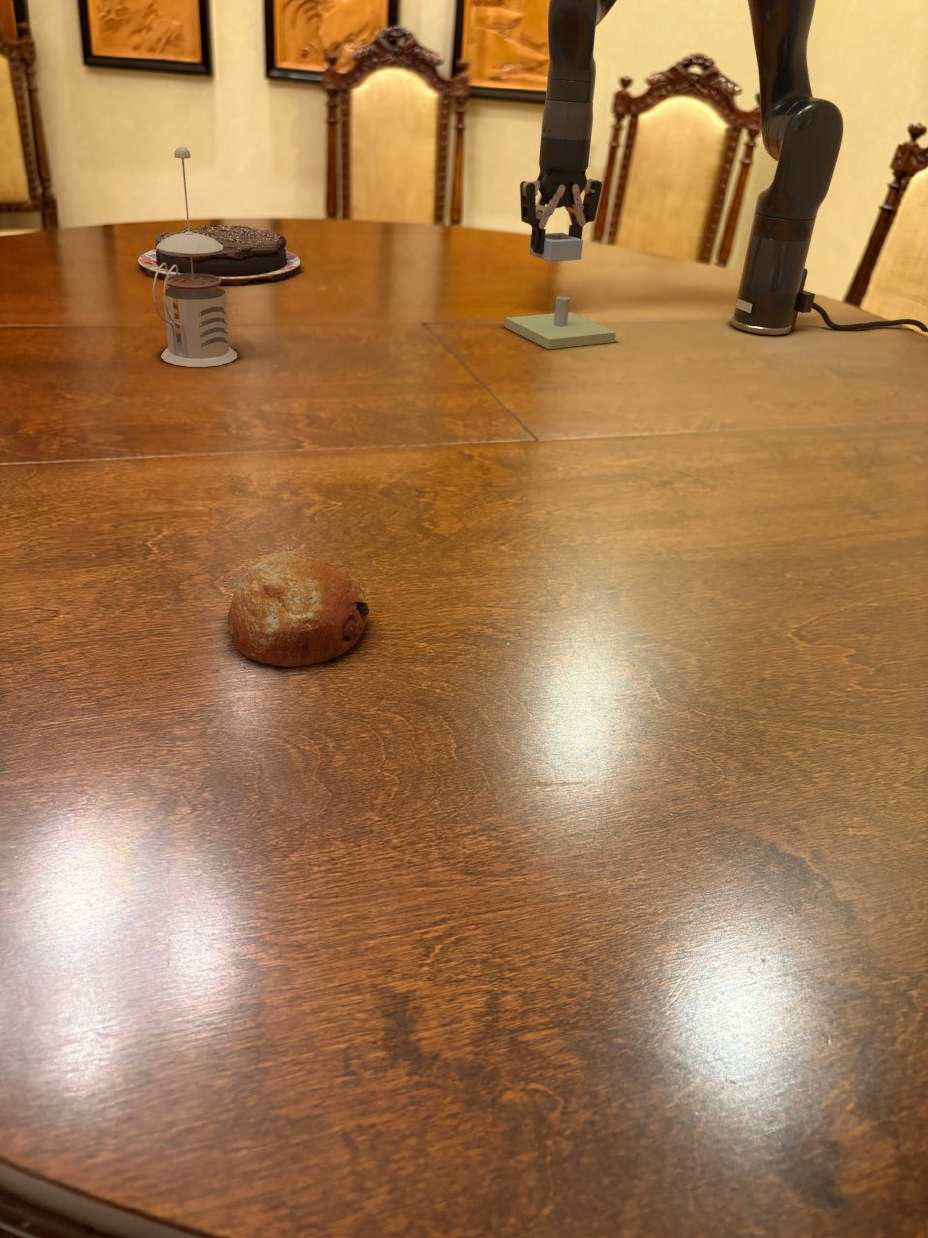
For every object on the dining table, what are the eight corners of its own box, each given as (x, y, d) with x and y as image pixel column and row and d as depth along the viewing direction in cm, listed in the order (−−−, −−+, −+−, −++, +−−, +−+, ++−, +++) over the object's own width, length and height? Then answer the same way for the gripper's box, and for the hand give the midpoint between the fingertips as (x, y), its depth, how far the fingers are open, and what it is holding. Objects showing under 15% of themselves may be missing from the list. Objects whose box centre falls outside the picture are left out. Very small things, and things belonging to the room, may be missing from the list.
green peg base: (568, 321, 154) (573, 285, 151) (614, 342, 146) (619, 304, 143) (504, 327, 149) (507, 290, 146) (548, 349, 140) (552, 310, 137)
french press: (252, 352, 130) (240, 147, 117) (197, 375, 121) (178, 155, 108) (193, 340, 134) (175, 139, 120) (135, 361, 125) (109, 146, 111)
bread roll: (263, 635, 79) (214, 556, 74) (379, 589, 77) (335, 506, 73) (251, 709, 70) (194, 625, 66) (380, 659, 69) (330, 570, 65)
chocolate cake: (103, 270, 164) (98, 229, 161) (201, 244, 187) (198, 207, 183) (245, 294, 156) (242, 252, 153) (329, 264, 179) (329, 226, 175)
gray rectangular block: (560, 251, 158) (561, 232, 156) (581, 259, 153) (583, 239, 152) (529, 254, 155) (530, 234, 154) (549, 261, 151) (551, 241, 149)
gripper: (539, 137, 139) (530, 259, 148) (619, 136, 145) (606, 253, 154) (512, 131, 145) (504, 249, 154) (590, 131, 151) (579, 244, 160)
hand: (555, 251), depth 154 cm, fingers closed on gray rectangular block, 6 cm apart
